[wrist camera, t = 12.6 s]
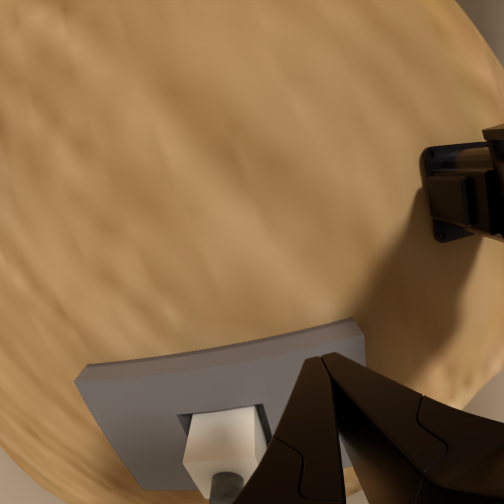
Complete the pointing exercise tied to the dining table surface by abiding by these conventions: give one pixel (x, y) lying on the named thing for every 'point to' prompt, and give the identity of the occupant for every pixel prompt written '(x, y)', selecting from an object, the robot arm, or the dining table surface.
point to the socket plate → (201, 394)
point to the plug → (224, 451)
